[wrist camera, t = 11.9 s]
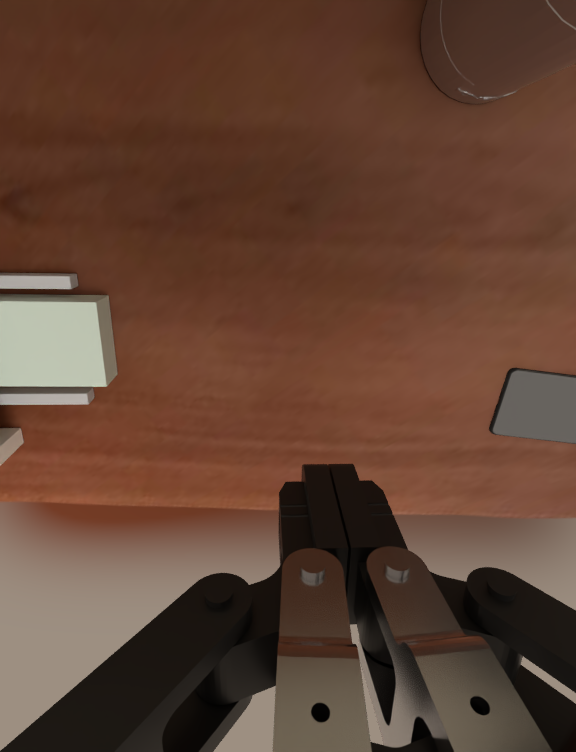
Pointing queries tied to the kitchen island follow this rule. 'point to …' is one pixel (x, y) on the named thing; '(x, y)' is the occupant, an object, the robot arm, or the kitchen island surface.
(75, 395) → the cream rectangular prism
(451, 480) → the kitchen island surface
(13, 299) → the sage green bar
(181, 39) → the kitchen island surface
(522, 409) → the smartphone
